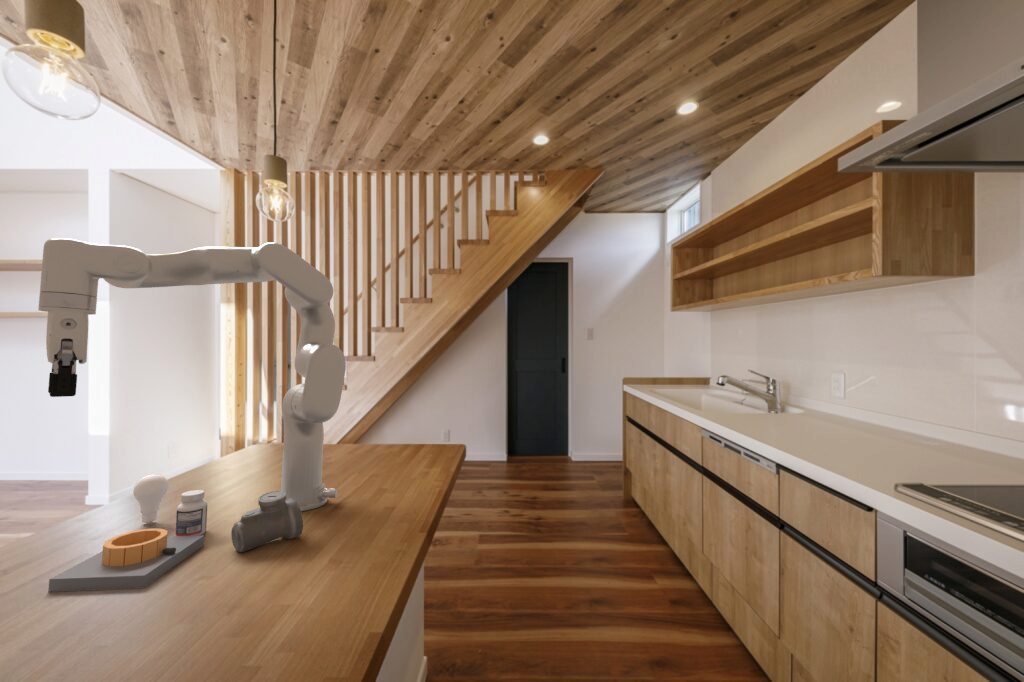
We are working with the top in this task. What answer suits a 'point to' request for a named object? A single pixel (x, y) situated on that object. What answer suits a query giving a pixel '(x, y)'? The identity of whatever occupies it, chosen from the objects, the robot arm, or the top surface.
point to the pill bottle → (191, 514)
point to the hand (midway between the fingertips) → (61, 394)
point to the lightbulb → (150, 495)
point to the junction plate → (125, 573)
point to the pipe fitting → (268, 522)
